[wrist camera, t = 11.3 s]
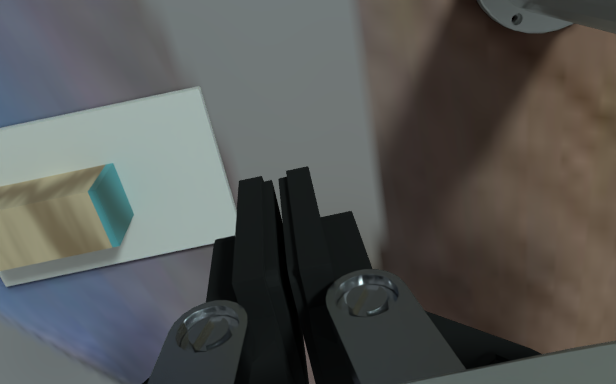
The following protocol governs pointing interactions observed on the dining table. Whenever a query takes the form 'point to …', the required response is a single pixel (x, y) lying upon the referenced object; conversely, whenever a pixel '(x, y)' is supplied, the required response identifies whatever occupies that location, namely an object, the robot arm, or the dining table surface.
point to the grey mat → (131, 174)
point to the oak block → (62, 216)
